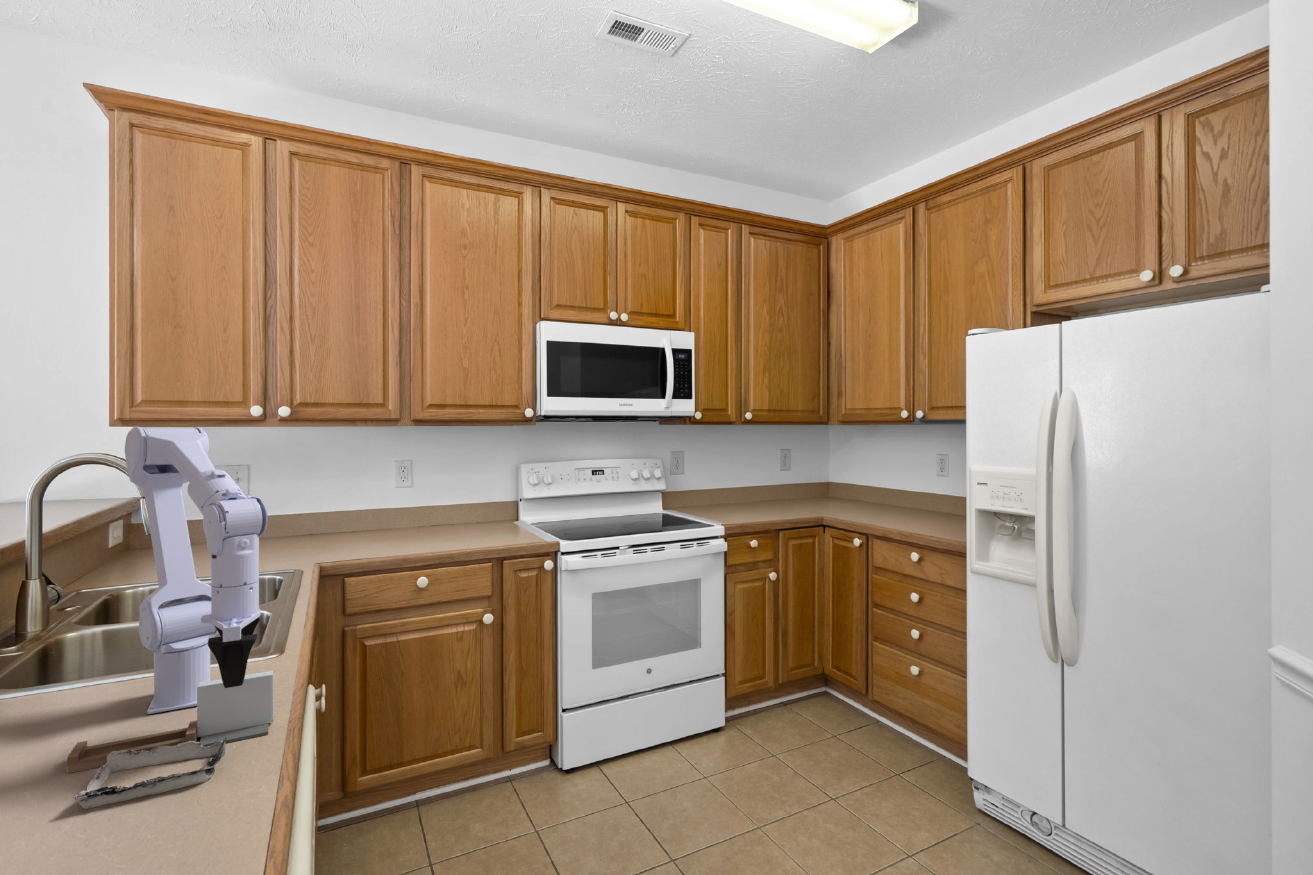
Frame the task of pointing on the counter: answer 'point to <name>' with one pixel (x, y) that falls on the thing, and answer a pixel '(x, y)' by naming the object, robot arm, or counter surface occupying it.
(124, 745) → the rack
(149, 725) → the counter surface
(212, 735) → the mat
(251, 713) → the board
